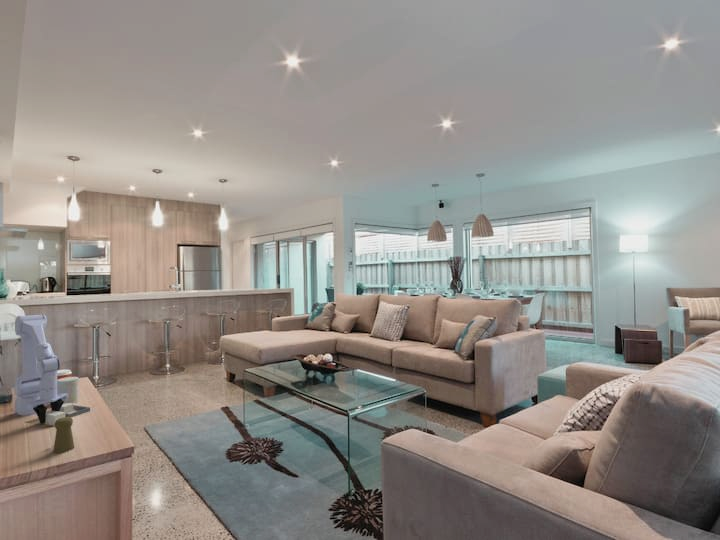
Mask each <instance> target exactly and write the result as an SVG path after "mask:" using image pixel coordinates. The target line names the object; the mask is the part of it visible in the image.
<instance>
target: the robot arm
mask: <svg viewBox="0 0 720 540" xmlns="http://www.w3.org/2000/svg"><path fill="white" fill-rule="evenodd" d="M47 325H48V318H47V316H46V315H45V314H44V313H43V314H42V313H41V314H33V315H17V316H16V317H15V321H14V332H15V333H14V334H15V336H19V337H20V342H21V360H22V374H20V375H19V376H18V377H17V378H15V380H14V389H13V390H14V395H15V397H16V398H15V400H14V414H17V415H20V416H31V415H36V416H37V418H39V421H40V423H45V415H46V411H48V407H47V406H45V405H48V404H50V410H53V411H57V412H58V411H60V408H61V407H62V405H63V403H64V401H63V400H62V399H67V398H68V393H64V394H59V395H57V371H58V370H61V369H60V368H61V360H60V359H59V357H58V356H57V355H56V354H55V353H54V350H53V348H52V345H51V344H50V343H48V342H47V339H46V335H45V329H46V326H47Z"/></svg>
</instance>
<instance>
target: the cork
mask: <svg viewBox="0 0 720 540" xmlns="http://www.w3.org/2000/svg"><path fill="white" fill-rule="evenodd" d="M73 420H74V419H73V417H71V418H70V417H64V418H60V419H58V420H56V422H55V426H54V428H55V429H56V432H55V437H54V443H53V444H54V445H53V450H52V451H53V454H62V453H63V454H64V453H66V451H67V452H69V450H70V451H72V450H74V448H75V443H74V436H73V431H72V425H73V423H74V421H73Z"/></svg>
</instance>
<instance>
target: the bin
mask: <svg viewBox="0 0 720 540" xmlns="http://www.w3.org/2000/svg"><path fill="white" fill-rule="evenodd" d="M73 410H77V411H73V412H70V413H65V417H70V418H73V417H76V416H79V415H82V414H86V413H88V412H91V408H90V406H84V405H83V406H82V405H75V404H73Z"/></svg>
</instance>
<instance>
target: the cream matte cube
mask: <svg viewBox="0 0 720 540" xmlns="http://www.w3.org/2000/svg"><path fill="white" fill-rule="evenodd" d="M73 405H74V403H65V404H63V405H62V407H61V408H60V411H59V412H65V413H66V414H70V413H73V412H74V409H73Z"/></svg>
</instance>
